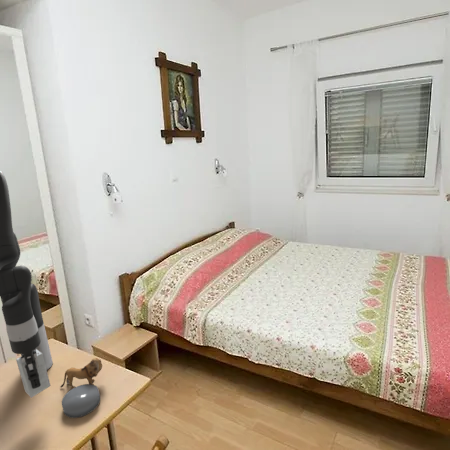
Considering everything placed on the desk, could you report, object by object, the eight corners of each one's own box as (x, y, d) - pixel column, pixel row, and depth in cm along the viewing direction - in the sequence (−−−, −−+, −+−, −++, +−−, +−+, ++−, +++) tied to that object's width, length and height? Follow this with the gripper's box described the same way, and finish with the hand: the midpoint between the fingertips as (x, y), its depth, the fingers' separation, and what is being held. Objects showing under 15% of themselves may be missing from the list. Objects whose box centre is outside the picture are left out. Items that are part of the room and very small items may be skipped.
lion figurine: (105, 375, 123) (101, 353, 121) (104, 385, 118) (99, 362, 116) (62, 383, 120) (57, 361, 118) (58, 394, 115) (53, 371, 113)
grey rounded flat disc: (61, 401, 112) (59, 393, 111) (96, 386, 118) (94, 379, 117) (66, 423, 103) (64, 415, 102) (103, 407, 109) (102, 399, 108)
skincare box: (44, 380, 109) (36, 348, 106) (51, 386, 106) (42, 353, 103) (24, 392, 105) (15, 358, 101) (30, 398, 102) (21, 364, 99)
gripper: (7, 326, 104) (20, 373, 109) (8, 350, 92) (23, 401, 97) (35, 317, 108) (46, 363, 112) (40, 339, 96) (52, 390, 101)
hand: (35, 381), depth 105 cm, fingers closed on skincare box, 5 cm apart
